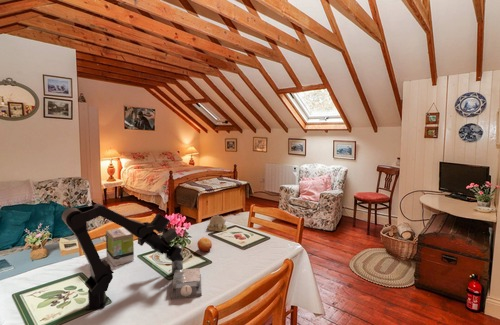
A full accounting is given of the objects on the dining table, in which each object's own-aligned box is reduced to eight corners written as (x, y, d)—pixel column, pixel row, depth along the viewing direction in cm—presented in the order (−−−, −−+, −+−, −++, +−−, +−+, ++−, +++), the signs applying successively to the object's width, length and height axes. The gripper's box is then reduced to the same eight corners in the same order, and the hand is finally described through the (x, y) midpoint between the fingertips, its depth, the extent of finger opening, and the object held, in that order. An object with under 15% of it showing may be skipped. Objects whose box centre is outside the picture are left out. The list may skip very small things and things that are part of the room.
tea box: (134, 260, 139) (133, 233, 137) (113, 266, 132) (112, 238, 131) (125, 251, 150) (124, 225, 149) (106, 256, 144) (104, 229, 142)
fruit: (203, 243, 159) (207, 233, 155) (210, 253, 155) (215, 243, 152) (192, 247, 152) (196, 237, 149) (200, 257, 149) (204, 247, 145)
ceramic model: (228, 226, 193) (228, 213, 192) (225, 232, 182) (225, 217, 181) (209, 225, 194) (209, 212, 193) (205, 231, 183) (205, 217, 182)
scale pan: (200, 286, 112) (200, 280, 112) (172, 289, 110) (172, 283, 109) (199, 273, 122) (199, 267, 122) (174, 275, 120) (174, 270, 120)
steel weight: (182, 274, 125) (182, 248, 124) (171, 275, 124) (171, 249, 123) (183, 269, 130) (182, 244, 129) (172, 270, 129) (171, 245, 128)
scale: (201, 296, 108) (201, 284, 108) (170, 299, 106) (170, 287, 105) (200, 276, 123) (200, 266, 123) (173, 279, 121) (173, 268, 120)
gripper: (177, 230, 115) (199, 247, 124) (156, 220, 128) (177, 236, 137) (160, 253, 110) (184, 269, 119) (140, 241, 123) (163, 256, 132)
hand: (177, 256), depth 127 cm, fingers open, 9 cm apart
